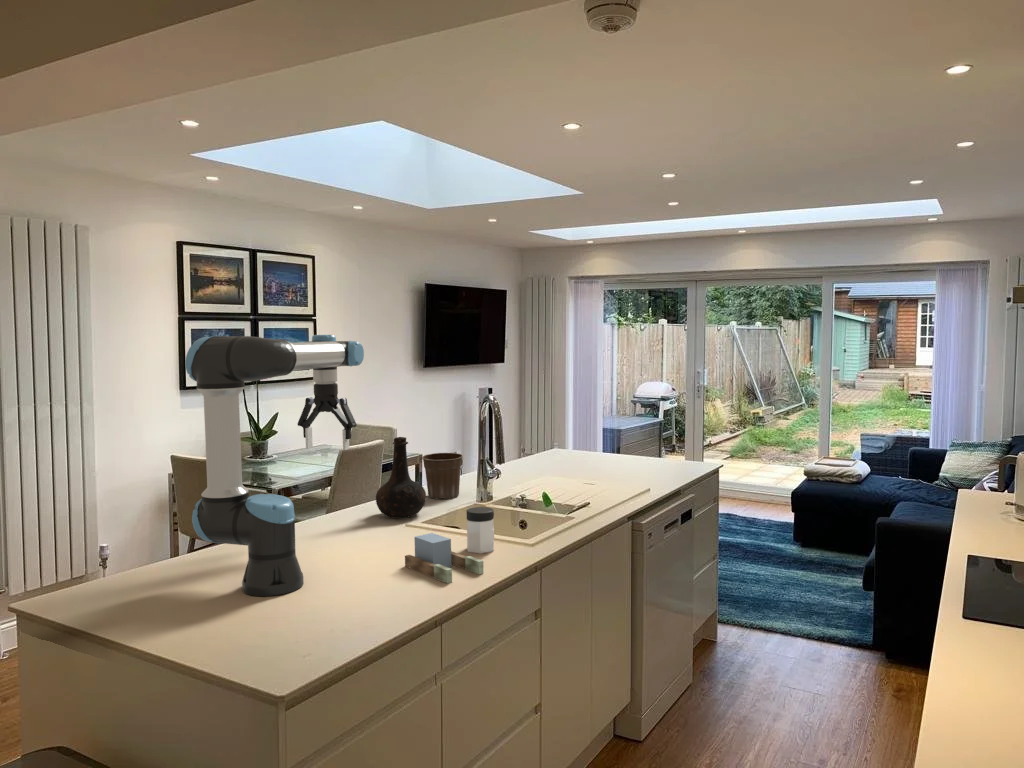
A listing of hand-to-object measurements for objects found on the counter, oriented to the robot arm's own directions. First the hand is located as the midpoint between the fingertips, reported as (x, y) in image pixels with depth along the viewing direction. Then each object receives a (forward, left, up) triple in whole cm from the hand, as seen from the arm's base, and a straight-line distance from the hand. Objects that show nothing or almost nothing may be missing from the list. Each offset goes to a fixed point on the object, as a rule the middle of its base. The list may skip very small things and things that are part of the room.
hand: (327, 448), depth 247 cm
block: (-22, -46, -28) cm, 58 cm away
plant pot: (+62, -13, -28) cm, 69 cm away
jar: (-3, -53, -28) cm, 60 cm away
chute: (-24, -50, -28) cm, 62 cm away
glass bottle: (+29, -11, -28) cm, 42 cm away
